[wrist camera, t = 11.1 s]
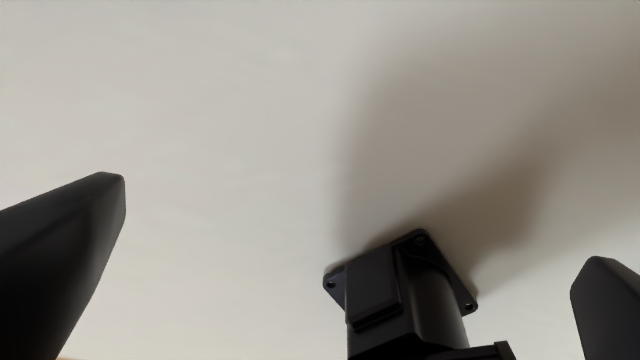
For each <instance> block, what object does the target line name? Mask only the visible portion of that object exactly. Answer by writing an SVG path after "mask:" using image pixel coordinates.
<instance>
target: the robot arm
mask: <svg viewBox="0 0 640 360" xmlns="http://www.w3.org/2000/svg"><path fill="white" fill-rule="evenodd" d="M125 215H126V201H125V181H124V178H123V177H122V176H121V175H119V174H114V173H108V172H97V173H94V174H92V175H89V176H87V177H84V178H82V179H79V180H77V181H74V182H72V183H69V184H67V185H64V186H61V187H59V188H56V189H54V190H51V191H49V192H46V193H44V194H41V195H39V196H36V197H34V198H31V199H29V200H26V201H23V202H21V203H18V204H16V205H13V206H11V207H8V208H6V209H3V210H1V211H0V360H55V359H56V358H57V356H58V355H59V353H60V351H61V349H62V348H63V346H64V344H65V342H66V341H67V339H68V337H69V336H70V334H71V332H72V330H73V329H74V327H75V325H76V323H77V322H78V320H79V318H80V317H81V315H82V313H83V311H84V310H85V308H86V306H87V304H88V303H89V301H90V299H91V297H92V295H93V293H94V291H95V289H96V287H97V285H98V283H99V281H100V278H101V276H102V273H103V271H104V269H105V266H106V264H107V262H108V259H109V257H110V255H111V252H112V250H113V248H114V245H115V243H116V240H117V238H118V236H119V233H120V231H121V229H122V226H123V224H124V220H125ZM420 237H424V239H423V240H417V239H418V238H420ZM330 281H333V282H335V283H329V282H330ZM323 287H324V289H325V290H326V291H327V292H328V293H329V294H330V296H331V297H332V298H333V299H334V300H335V301H336V302H337V303H338V304H339V305H340V307H341V308H342V309H343V310H344V311H345V322H346V324H347V360H516V358H515V356H514V354H513V352H512V350H511V348H510V346H509V344H508V342H507V341H499V342H494V345H486V346H478V347H471V348H470V345H469V342H468V338H467V334H466V331H465V327H464V324H463V320H462V317H463V316H466V315H468V314H470V313H473V312H474V311H476V310H477V309H478V304H477V301H476V298H475V297H474V295H473V294H472V292H471V291H470V290H469V288H468V287H467V285H466V284H465V283H464V281H463V280H462V278H461V277H460V276H459V274H458V273H457V271H456V270H455V269H454V267H453V266H452V264H451V263H450V261H449V260H448V259H447V257H446V256H445V254H444V253H443V252H442V250H441V249H440V247H439V246H438V245H437V243H436V242H435V240H434V239H433V238H432V236H431V235H430V233H429V232H428V231H427V230H425V229H416V230H414V231H412V232H410V233H408V234H406V235H404V236H402V237H400V238H398V239H396V240H394V241H392V242H390V243H388V244H386V245H382V246H380V247H378V248H376V249H374V250H372V251H370V252H368V253H366V254H364V255H362V256H360V257H358V258H356V259H354V260H352V261H350V262H348V263H347V264H346V265H344V266H342V267H340V268H338V269H336V270H334V271H332V272H330V273H328V274H326V275H325V276H324V277H323ZM570 300H571V304H572V308H573V312H574V316H575V320H576V324H577V328H578V332H579V336H580V340H581V344H582V348H583V352H584V356H585V360H640V275H638V274H637V273H635V272H634V271H632V270H631V269H629V268H628V267H626V266H625V265H623V264H621V263H620V262H618V261H617V260H615V259H612V258H606V257H600V256H592V257H590V258H589V259H588V260H587V261H586V263H585V264H584V266H583V268H582V269H581V271H580V272H579V274H578V276H577V277H576V279H575V281H574V282H573V284H572V286H571V289H570ZM466 304H469V305H466Z"/></svg>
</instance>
